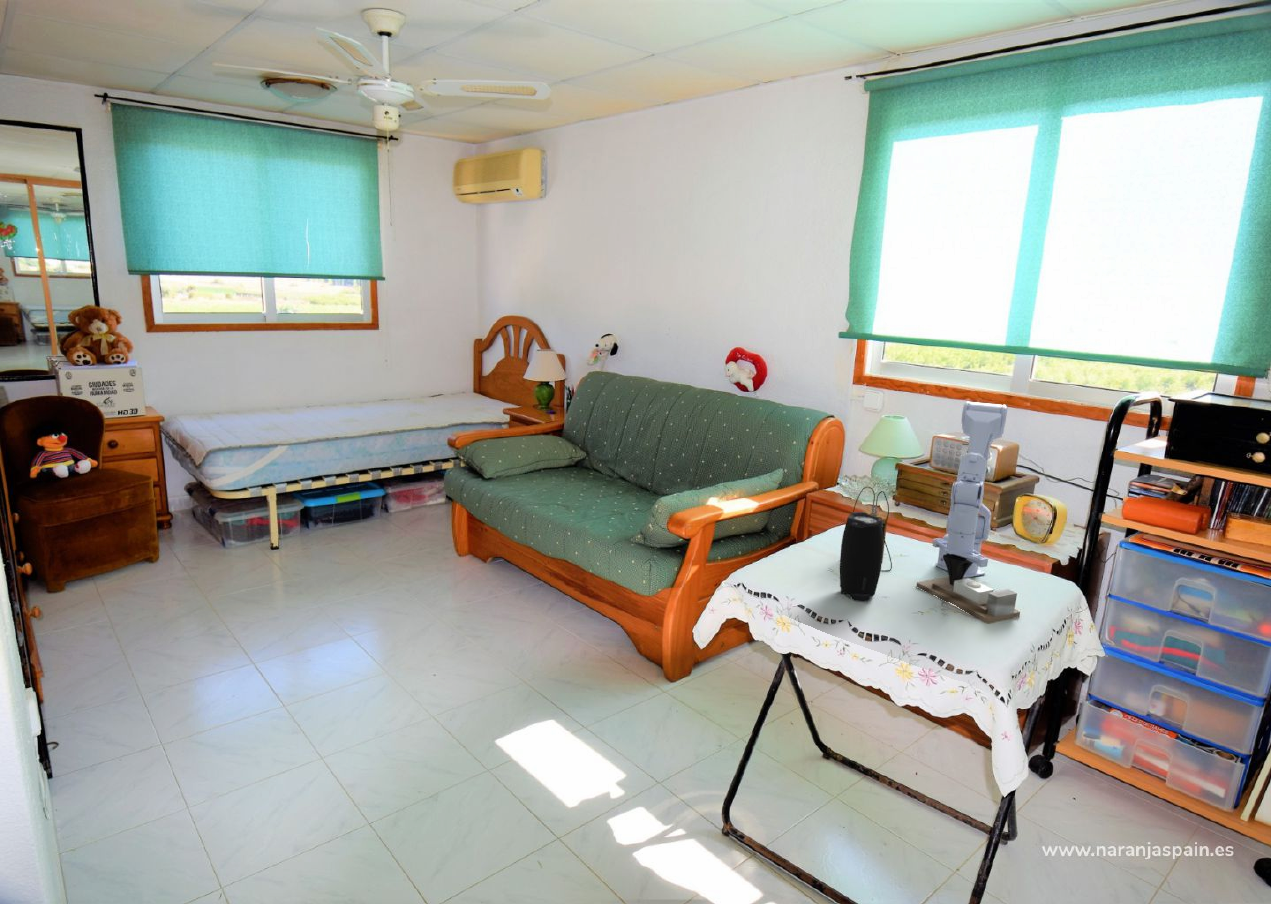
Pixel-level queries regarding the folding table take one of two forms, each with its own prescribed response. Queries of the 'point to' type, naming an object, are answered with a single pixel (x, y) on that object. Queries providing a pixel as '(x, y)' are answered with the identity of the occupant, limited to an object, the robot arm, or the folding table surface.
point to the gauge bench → (993, 611)
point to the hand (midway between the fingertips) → (954, 584)
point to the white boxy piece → (972, 590)
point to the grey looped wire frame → (882, 521)
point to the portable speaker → (861, 555)
